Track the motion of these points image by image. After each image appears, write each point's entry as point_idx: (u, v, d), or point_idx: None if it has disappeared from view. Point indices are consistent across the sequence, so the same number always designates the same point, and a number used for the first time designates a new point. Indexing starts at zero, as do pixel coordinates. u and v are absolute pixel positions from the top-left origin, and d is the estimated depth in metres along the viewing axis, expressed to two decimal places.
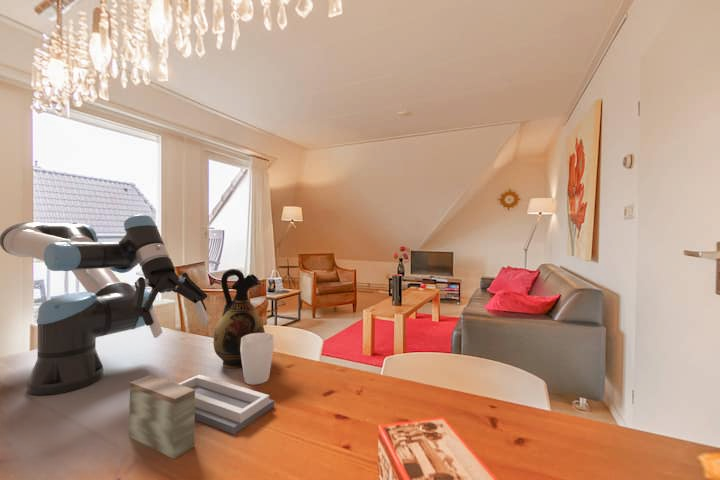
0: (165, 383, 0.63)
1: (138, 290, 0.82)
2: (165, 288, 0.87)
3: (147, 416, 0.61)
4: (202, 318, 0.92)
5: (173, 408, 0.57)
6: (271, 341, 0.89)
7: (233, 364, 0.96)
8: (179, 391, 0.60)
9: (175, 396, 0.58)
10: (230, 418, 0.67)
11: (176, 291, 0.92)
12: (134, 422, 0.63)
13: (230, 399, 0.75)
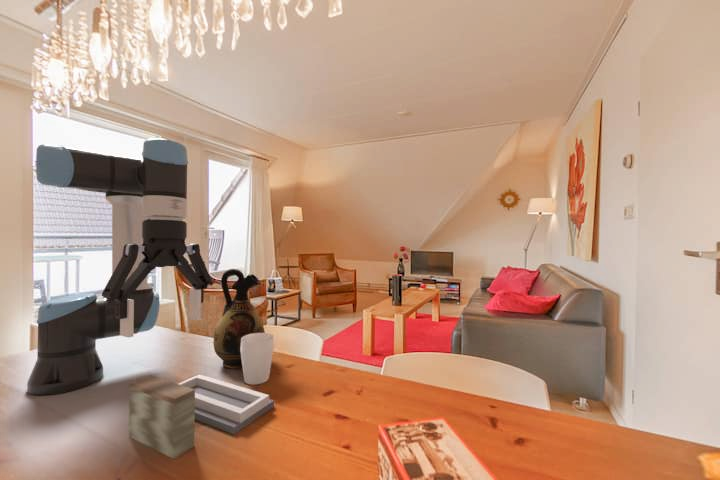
0: (165, 383, 0.63)
1: (124, 264, 0.56)
2: (162, 265, 0.61)
3: (147, 417, 0.61)
4: (193, 312, 0.68)
5: (173, 408, 0.57)
6: (271, 341, 0.89)
7: (233, 364, 0.96)
8: (178, 391, 0.60)
9: (174, 396, 0.58)
10: (230, 418, 0.67)
11: (176, 266, 0.66)
12: (134, 422, 0.63)
13: (230, 399, 0.75)
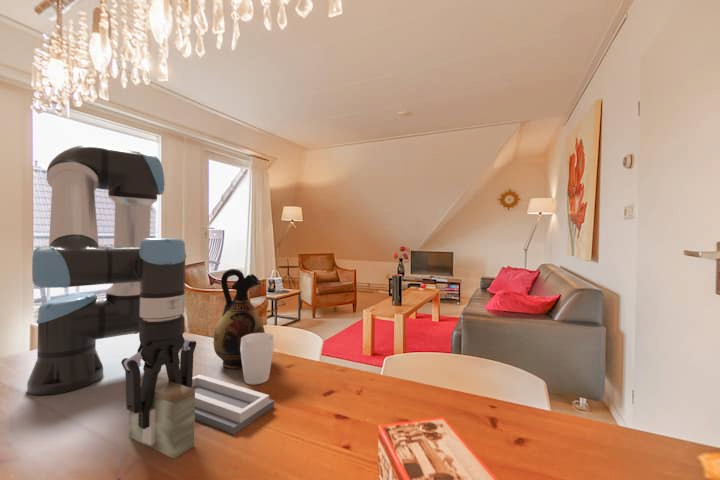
0: (165, 383, 0.63)
1: (131, 381, 0.57)
2: None
3: None
4: None
5: (173, 408, 0.57)
6: (271, 341, 0.89)
7: (233, 364, 0.96)
8: (179, 390, 0.60)
9: (175, 396, 0.58)
10: (230, 418, 0.67)
11: (165, 363, 0.64)
12: (134, 422, 0.63)
13: (230, 399, 0.75)
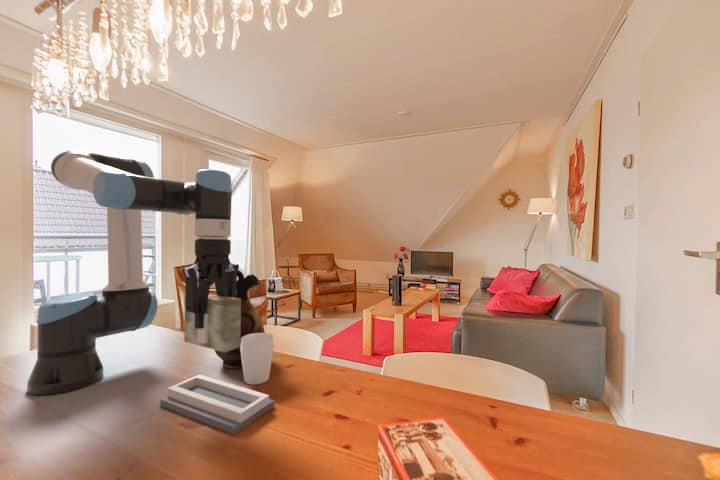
0: (215, 296, 0.74)
1: (190, 285, 0.68)
2: None
3: None
4: None
5: (224, 309, 0.68)
6: (271, 341, 0.89)
7: (233, 364, 0.96)
8: (228, 298, 0.71)
9: (225, 300, 0.69)
10: (230, 418, 0.67)
11: (214, 280, 0.75)
12: (189, 328, 0.74)
13: (230, 399, 0.75)
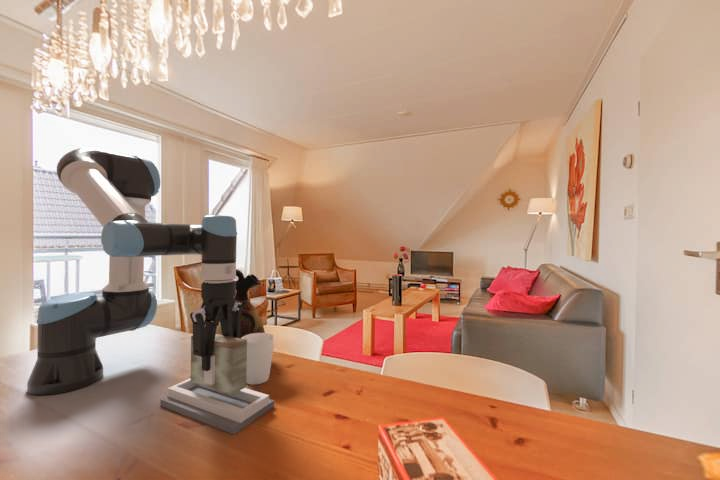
0: (220, 336, 0.76)
1: (198, 330, 0.70)
2: None
3: None
4: None
5: (231, 352, 0.70)
6: (271, 341, 0.89)
7: None
8: (234, 340, 0.73)
9: (232, 343, 0.71)
10: (230, 418, 0.67)
11: (220, 320, 0.77)
12: (195, 368, 0.76)
13: (230, 399, 0.75)
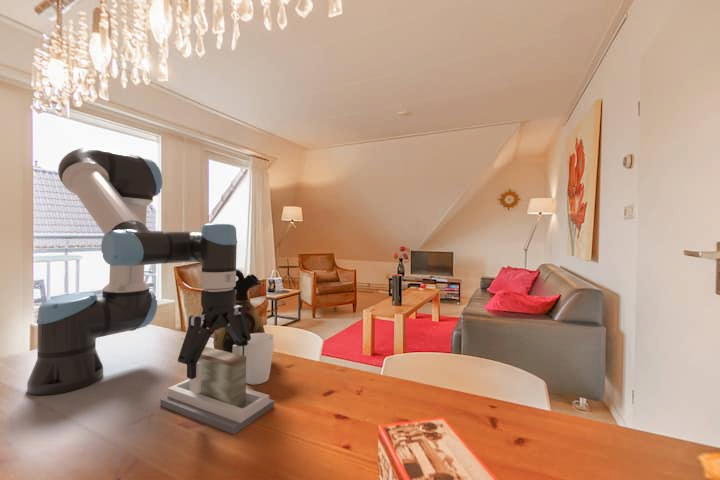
0: (220, 352, 0.76)
1: (191, 334, 0.68)
2: (217, 328, 0.74)
3: (207, 378, 0.74)
4: None
5: (231, 370, 0.71)
6: (271, 341, 0.89)
7: None
8: (233, 357, 0.73)
9: (232, 360, 0.71)
10: (230, 418, 0.67)
11: None
12: None
13: None
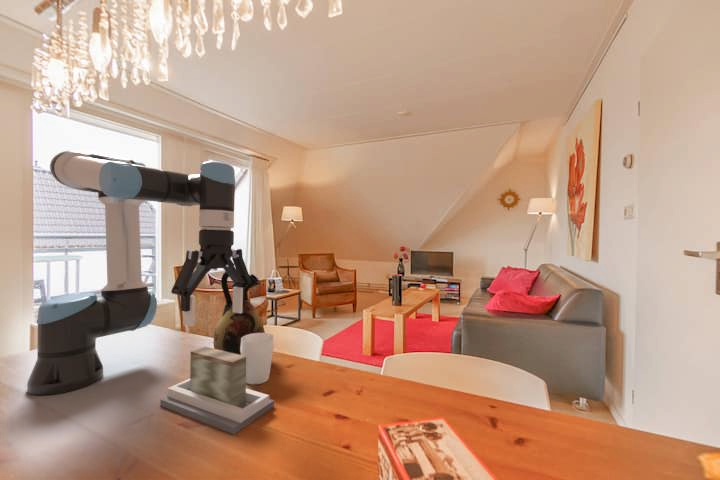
0: (220, 352, 0.76)
1: (188, 266, 0.68)
2: (215, 267, 0.74)
3: (207, 378, 0.74)
4: (236, 307, 0.81)
5: (231, 370, 0.71)
6: (271, 341, 0.89)
7: None
8: (233, 357, 0.73)
9: (232, 360, 0.71)
10: (230, 418, 0.67)
11: (223, 267, 0.78)
12: (195, 384, 0.76)
13: None
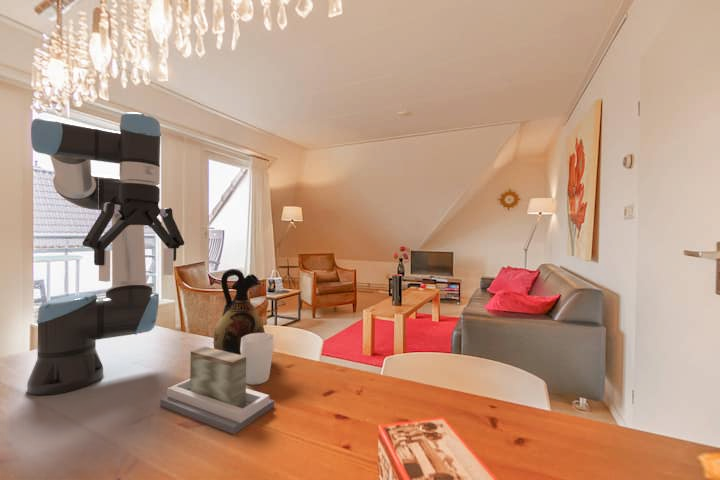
0: (220, 352, 0.76)
1: (101, 218, 0.65)
2: (137, 223, 0.71)
3: (207, 378, 0.74)
4: (166, 268, 0.78)
5: (231, 370, 0.71)
6: (271, 341, 0.89)
7: None
8: (233, 357, 0.73)
9: (232, 360, 0.71)
10: (230, 418, 0.67)
11: (150, 226, 0.75)
12: (195, 384, 0.76)
13: None
